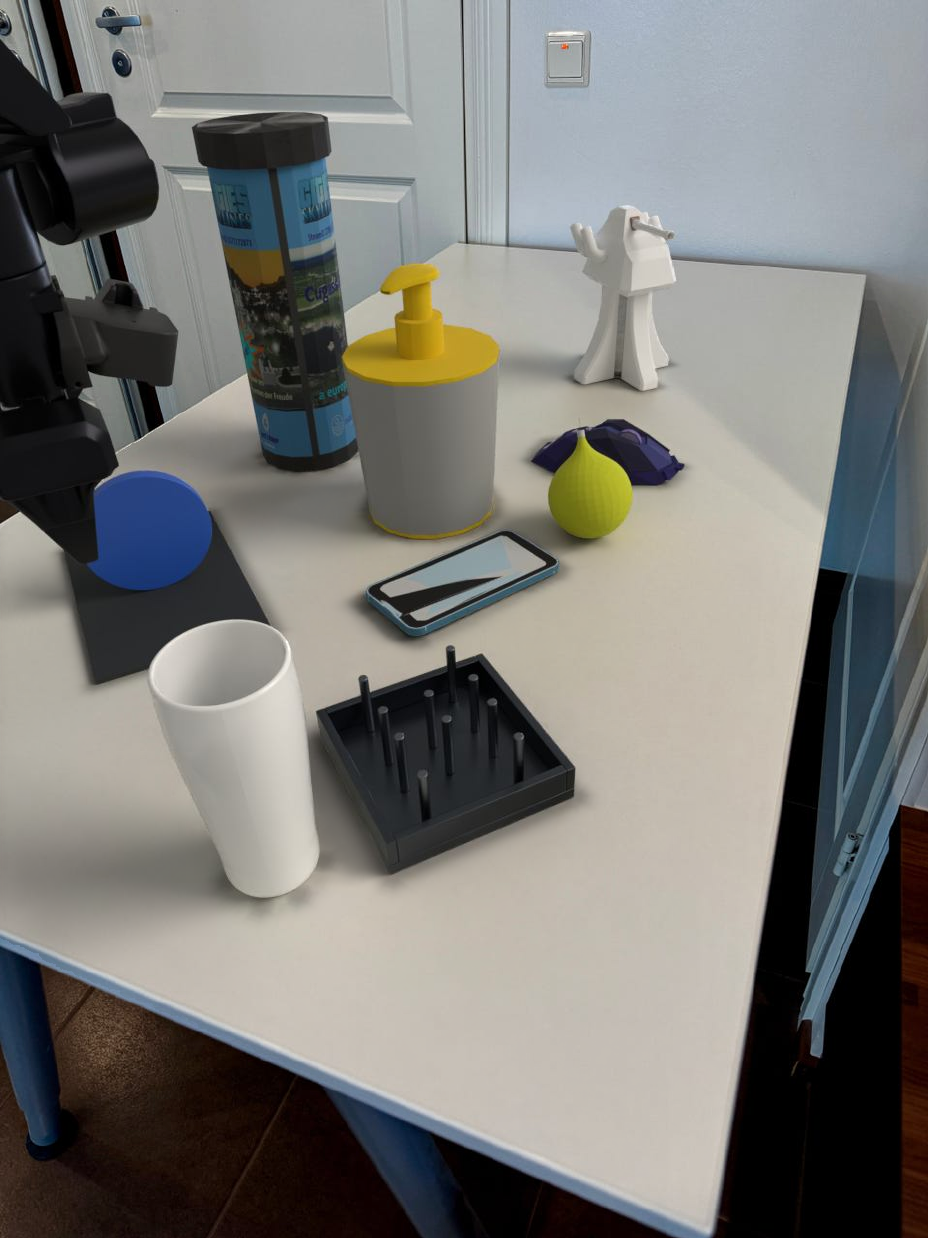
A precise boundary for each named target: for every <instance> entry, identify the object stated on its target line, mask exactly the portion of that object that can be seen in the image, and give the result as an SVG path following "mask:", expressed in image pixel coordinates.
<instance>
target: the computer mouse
mask: <svg viewBox="0 0 928 1238" xmlns="http://www.w3.org/2000/svg"><path fill="white" fill-rule="evenodd" d="M580 427H581V429H580ZM580 427H576V428H572V429H569V430H567V431H564V432H563V433H562V434H561V435H560V436H558V437H557V438H556V439H554V440H552V441H547V442H546V443H545V444H544V445H543V446H542V447H541V448H540V449H539V450H538V451H537V452H536V454H534V456H533V458H532V459H531V462H533V463H535V464H537V465H538V466H540V467H542V468H544V469H546V470H547V471H550V472H552V473H554V474H555V473H556V471H557V470H558V469H559V468H560V467H561V466H562V464H563V463H564V462H565V461H567V460H568V458H569V457H570V456H571V455H572V454H573V452H574V451H575V449H576V446H577V442H578V437H577V431H580V430H584V432H585V439H586V441H587V443H588V444H589V445H590V446H591V448H593V449H594V450H595V451H597V452H598V453H600V454H602V455H604V456H606V457H608V458H610V459H612V460H613V461H615V462H616V463H618V464H619V465H620V466H621V467H622V468H623V470H624V471H625V472H626V474H627V476H628V478H629V480H630V483H631V486H632V485H633V486H634V485H635V486H636V485H637V486H658V485H661V484H662V483H665V482H669V481H670V480H672V479H673V478H674V477H675V476H676V475H677V474H678V473H679V472H681V471H683V469H684V468H685V466H686V464H685V463H684V462H679V461H678V458H677V457H676V455H675V454H674V455H673V454H672V455H671V454H670V452H671V450H670V449H669V448H668V447H667V446H665V445H664V444H663V443H662V442H660V441H658V439H656V438H655V437H653V436H652V435H651V434H650V433H648V432H646V431H644V430H642V429H641V428H640V427H638V426H636V425H634V424H633V423H631V422H629V421H628V420H626V419H624V418H606V419H605V421H603V422H602V423H599V424H598V425H595V426H588V425H585V426H580Z"/></svg>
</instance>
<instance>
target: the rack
mask: <svg viewBox="0 0 928 1238" xmlns="http://www.w3.org/2000/svg"><path fill="white" fill-rule="evenodd" d="M445 658H446V660H445V661H446V665H444V666H441V667H438V668H435V669H432V670H429V671H426V672H424V673H421V674H418V675H414V676H412V677H410V678H406V679H403V680H401V681H398V682H395V683H391V684H389V685H386V686H384V687H383V686H382V687H379V688H378V689H375V690H372V691H371V689H370V682H369V681H370V680H369V676H368V675H366V674H360V676H358V686H359V694H360V695H358V696H355V697H351V698H349V699H346V700H343V701H340V702H337V703H334V704H332V705H329V706H326V707H324V708H320V709H317V710H316V711H315V715H316V716H315V717H316V720H317V725H318V726H317V727H318V731H319V736H320V741H321V743H322V745H323V746H324V748H325V750H326V752H327V754H328V756H329V758H330V760H331V762H332V764H333V765H334V767H335V770H336V772H337V774H338V775H339V777H340V779H341V781H342V784H343V785H344V787H345V788H346V791H347V793H348V794H349V797H350V798H351V801H352V802H353V804H354V807H355V809H356V810H357V812H358V814H359V816H360V818H361V820H362V822H363V824H364V826H365V828H366V830H367V832H368V833H369V836H370V838H371V839H372V841H373V843H374V845H375V847H376V849H377V852H378V853H379V855H380V857H381V859H382V861H383V862H384V865H385V866H386V868H387V870H388V873H389V874H390V875H393V874H395V873H398V872H400V871H403V870H405V869H407V868H411V867H412V866H415V865H417V864H419V863H422V862H424V861H426V860H428V859H429V860H430V859H431V858H433V857H436V856H438V855H441V854H442V853H443V854H444V853H445V852H447V851H451V850H452V849H455V848H457V847H459V846H461V845H464V844H466V843H469V842H471V841H474V840H476V839H478V838H480V837H483V836H485V835H488V834H489V833H492V832H494V831H497V830H499V829H502V828H504V827H507V826H509V825H511V824H513V823H516V822H518V821H520V820H524V819H526V818H527V817H530V816H531V815H532V816H533V815H534V814H537V813H539V812H542V811H544V810H546V809H548V808H551V807H554V806H555V805H558V804H560V803H563V802H565V801H568V800H569V799H572V798H574V797H575V784H576V783H575V782H576V766H575V765H574V764H573V762H572V761H571V760H570V758H568V756H567V755H566V754H565V753H564V751H563V750H562V749H561V748H560V746H559V745H558V744H557V743H556V742H555V741H554V739H553V738H552V737H551V736H550V734H549V733H548V732H547V730H546V729H545V728H544V727H543V725H541V723H540V722H539V720H537V718H536V717H535V716H534V715H533V713H532V712H531V711H530V710H529V708H528V707H527V706H526V705H525V704H524V703H523V701H522V700H521V699H520V697H519V696H518V695H517V694H516V693H515V692H514V690H513V689H512V687H510V686H509V684H508V683H507V682H506V681H505V679H504V678H503V677H502V675H501V674H500V673H499V672H498V670H496V668H495V667H494V665H493V664H491V662H490V661H489V660H488V658H487V657H486V656H485V655H484V654H483V652H482V653H478V654H476V655H473V656H470V657H467V658H464V659H461V660H459V661H457V659H456V658H457V657H456V647H455V646H454V645H452V644H449V645H447V646H446V647H445Z"/></svg>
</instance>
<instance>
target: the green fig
mask: <svg viewBox="0 0 928 1238" xmlns="http://www.w3.org/2000/svg"><path fill="white" fill-rule="evenodd" d="M578 421H579V424H581V422H580V421H581V420H580V419H578ZM581 427H582V426H579V428H580V429H581ZM577 437H578V442H577V446H576V449H575V451H574V452H573V454H572V455H571V456H570V457H569V458H568V460H567V461H565V462H564V463H563V464H562V466H561V467H560V468H559V469H558V470H557V471H556V473H555V472H554V475H553V476H552V478H551V480H550V483H549V486H548V492H547V503H548V508H549V511H550V514H551V515H552V518H553V519H554V521H555V523H557V525H558V526H559V527H560V528H561V529H562V530H563V531H565V532H567V533H568V534H570V535H572V536H575V537H578V538H581V539H598V538H602V537H605V536H607V535H610V534H611V533H613V532H614V531H616V530H617V529H618V528H619V527H621V525H623V524H624V522H625V520H626V519H627V517H628V515H629V513H630V510H631V508H632V504H633V498H634V495H633V487H632V485H631V483H630V480H629V478H628V476H627V474H626V472H625V471H624V470H623V468H622V467H621V466H620V465H619V464H618V463H616V462H615V461H613V460H612V459H610V458H608V457H606V456H604V455H602V454H600V453H598V452H597V451H595V450H594V449H593V448H591V446H590V445H589V444H588V443H587V441H586V439H585V432H584V430H580V431H577Z"/></svg>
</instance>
